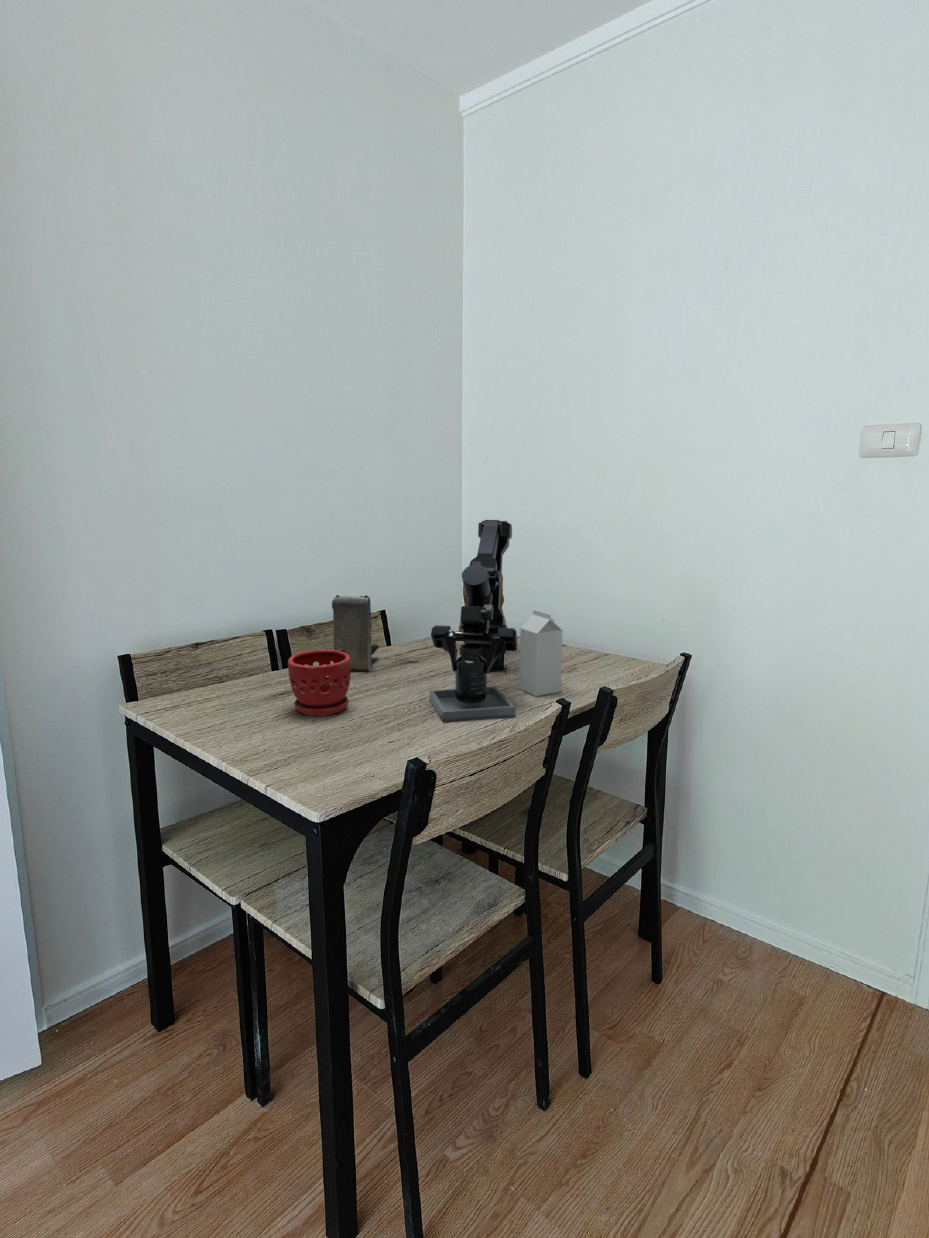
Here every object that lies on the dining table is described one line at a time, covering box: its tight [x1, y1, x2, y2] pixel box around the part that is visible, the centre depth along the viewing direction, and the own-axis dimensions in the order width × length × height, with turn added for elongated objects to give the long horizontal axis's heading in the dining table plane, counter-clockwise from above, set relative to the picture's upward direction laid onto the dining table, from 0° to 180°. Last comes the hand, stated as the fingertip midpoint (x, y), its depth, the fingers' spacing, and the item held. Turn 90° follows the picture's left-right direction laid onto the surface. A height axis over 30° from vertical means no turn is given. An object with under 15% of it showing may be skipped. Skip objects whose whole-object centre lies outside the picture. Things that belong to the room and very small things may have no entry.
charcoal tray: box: [428, 685, 517, 723], centre depth 157 cm, size 16×16×2 cm
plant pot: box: [287, 649, 352, 717], centre depth 155 cm, size 13×13×12 cm
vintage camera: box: [331, 594, 380, 672], centre depth 192 cm, size 10×15×20 cm, turn 174°
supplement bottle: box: [454, 643, 488, 703], centre depth 156 cm, size 7×7×12 cm
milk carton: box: [519, 609, 563, 697], centre depth 168 cm, size 7×7×19 cm
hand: (470, 671), depth 155 cm, fingers closed on supplement bottle, 7 cm apart
